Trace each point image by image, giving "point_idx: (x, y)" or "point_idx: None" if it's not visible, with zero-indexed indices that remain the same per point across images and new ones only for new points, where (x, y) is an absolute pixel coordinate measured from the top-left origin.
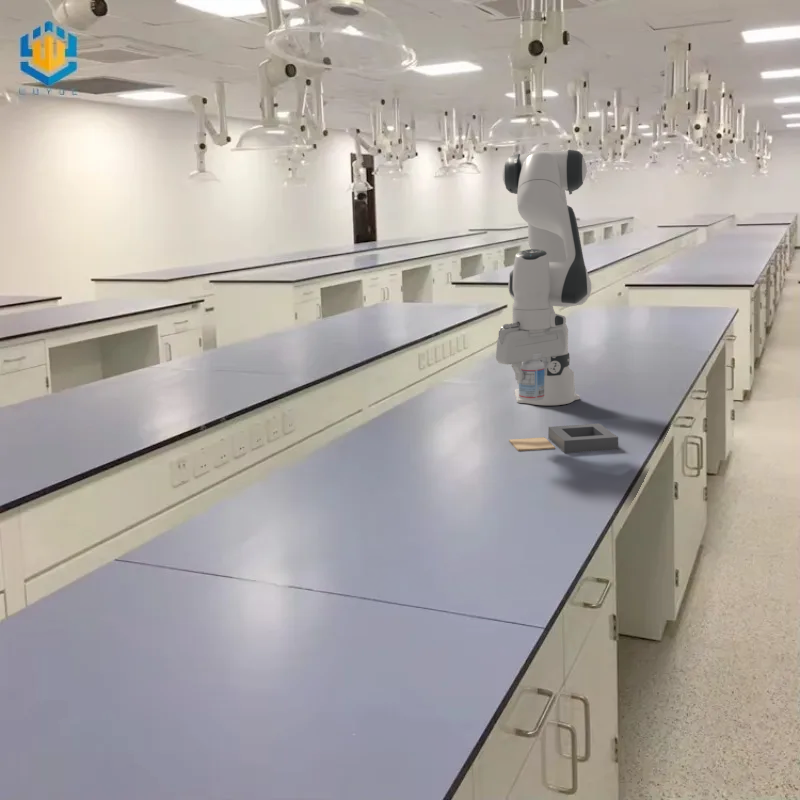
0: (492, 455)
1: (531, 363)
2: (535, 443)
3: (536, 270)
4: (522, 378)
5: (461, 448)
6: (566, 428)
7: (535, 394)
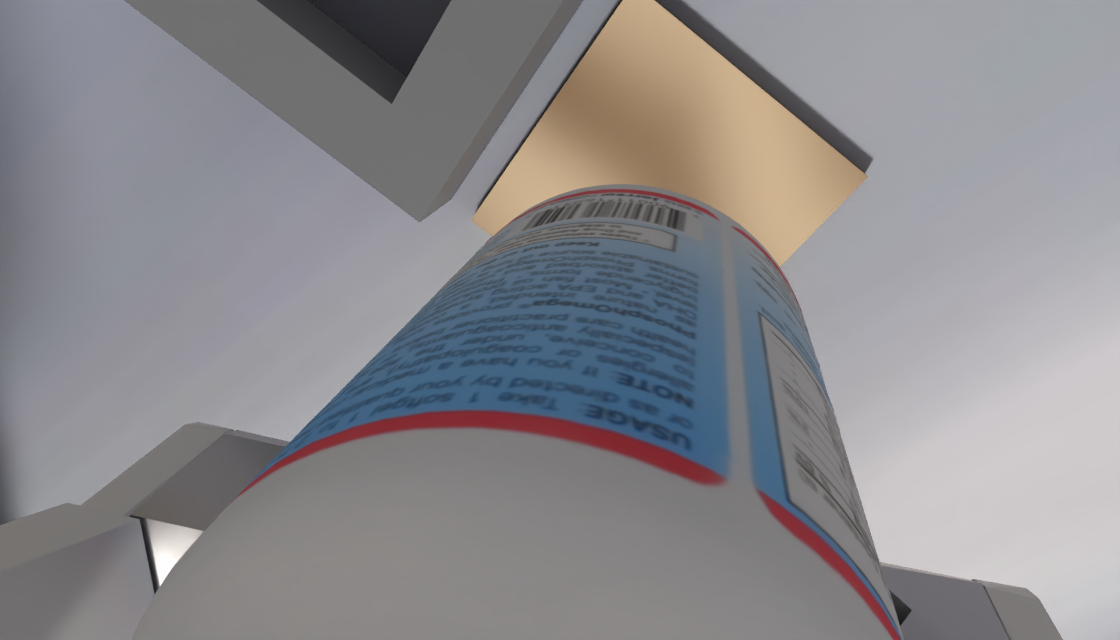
0: (1073, 259)
1: None
2: (644, 172)
3: None
4: (976, 599)
5: (1008, 512)
6: (354, 76)
7: (738, 243)
